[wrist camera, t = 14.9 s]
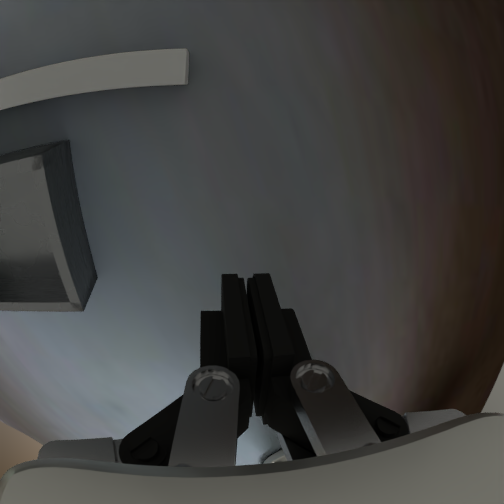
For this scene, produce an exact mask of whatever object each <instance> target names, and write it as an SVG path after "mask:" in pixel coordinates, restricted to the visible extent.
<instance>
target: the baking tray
mask: <svg viewBox="0 0 504 504" xmlns="http://www.w3.org/2000/svg"><path fill="white" fill-rule="evenodd" d="M97 278H98V277H97V273H96V270H95V266H94V263H93V259H92V255H91V251H90V247H89V243H88V239H87V235H86V231H85V227H84V222H83V218H82V213H81V208H80V203H79V198H78V193H77V188H76V182H75V176H74V170H73V164H72V157H71V150H70V142H69V140H65V141H60V142H55V143H50V144H45V145H41V146H36V147H32V148H28V149H23V150H19V151H15V152H11V153H8V154H4V155H0V310H2V311H56V312H75V311H84V309H85V307H86V304H87V302H88V299H89V297H90V295H91V292H92V290H93V287H94V285H95V283H96V280H97Z"/></svg>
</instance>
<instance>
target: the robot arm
mask: <svg viewBox="0 0 504 504" xmlns="http://www.w3.org/2000/svg"><path fill="white" fill-rule="evenodd" d="M253 400H254V406H255V413H256V416H262V419H263V425H264V424H268V426H269V427H271V428H272V429H274V430H276V431H277V436H278V439H279V442H280V444H281V447H282V450H280V451H278V452H276V453H274V454H273V455H271V456H270V457H268V458H267V459H266V460H265V461H264V463H263V464H255V465H242V466H236V452H237V438H238V437H239V436H240V435H241V434H242V433H244V432H245V431H246V430H247V429H248V426H249V417H252V409H253ZM0 504H504V414H502V413H478V414H471V415H467V416H465V415H464V414H463V413H462V412H460V411H458V410H455V409H447V410H437V411H425V412H410V413H405V415H404V416H401V415H400V414H398V413H396V412H395V411H392V410H390V409H388V408H386V407H384V406H381V405H379V404H377V403H375V402H373V401H371V400H368V399H366V398H364V397H362V396H360V395H358V394H356V393H354V392H352V391H350V390H349V389H348V388H347V386H346V385H345V383H344V381H343V380H342V378H341V377H340V375H339V373H338V372H337V371H336V370H335V368H334V367H332V366H331V365H329V364H328V363H326V362H323V361H320V360H312V359H311V356H310V353H309V350H308V348H307V345H306V342H305V339H304V337H303V334H302V331H301V328H300V326H299V323H298V320H297V317H296V315H295V312H294V310H293V309H281V308H280V305H279V302H278V298H277V295H276V292H275V289H274V286H273V283H272V279H271V276H270V274H269V273H266V274H253V278H248V280H247V295H246V289H245V284H244V279H243V278H238V275H237V274H222V286H221V311H201V335H200V368H199V369H197V370H195V371H193V372H192V373H191V374H190V375H189V377H188V379H187V381H186V386H185V390H184V394H183V395H182V396H181V397H179V398H178V399H177V400H175V401H174V402H172V403H171V404H170V405H168V406H167V407H166V408H164V409H163V410H161V411H160V412H159V413H157V414H156V415H154V416H153V417H152V418H150V419H149V420H147V421H146V422H145V423H143V424H142V425H140V426H139V427H137V428H136V429H135V430H133V431H132V432H130V433H129V434H128V435H127V436H125V437H124V438H123V439H118V440H113V438H112V437H107V438H95V439H80V440H55V441H50V442H48V443H46V444H45V445H43V446H42V448H41V449H40V451H39V454H38V459H37V460H32V461H28V462H24V463H21V464H18V465H16V466H14V467H12V468H10V469H9V470H7V472H6V473H5V474H4V475H3V477H2V478H1V479H0Z"/></svg>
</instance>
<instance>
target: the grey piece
mask: <svg viewBox="0 0 504 504" xmlns="http://www.w3.org/2000/svg"><path fill="white" fill-rule="evenodd" d="M189 55H190V53H189V51H188V50H187V49H160V50H145V51H134V52H124V53H116V54H108V55H101V56H94V57H88V58H82V59H76V60H71V61H66V62H61V63H57V64H52V65H48V66H44V67H40V68H36V69H32V70H28V71H24V72H21V73H17V74H14V75H11V76H7V77H4V78H1V79H0V110H3V109H6V108H10V107H14V106H18V105H22V104H27V103H31V102H36V101H40V100H45V99H50V98H55V97H61V96H67V95H73V94H79V93H86V92H93V91H101V90H109V89H119V88H130V87H143V86H160V85H188V74H189Z"/></svg>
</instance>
